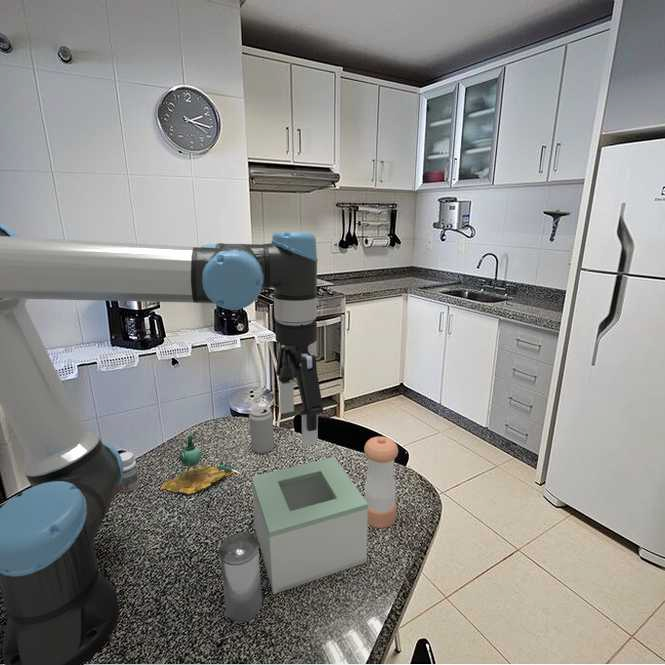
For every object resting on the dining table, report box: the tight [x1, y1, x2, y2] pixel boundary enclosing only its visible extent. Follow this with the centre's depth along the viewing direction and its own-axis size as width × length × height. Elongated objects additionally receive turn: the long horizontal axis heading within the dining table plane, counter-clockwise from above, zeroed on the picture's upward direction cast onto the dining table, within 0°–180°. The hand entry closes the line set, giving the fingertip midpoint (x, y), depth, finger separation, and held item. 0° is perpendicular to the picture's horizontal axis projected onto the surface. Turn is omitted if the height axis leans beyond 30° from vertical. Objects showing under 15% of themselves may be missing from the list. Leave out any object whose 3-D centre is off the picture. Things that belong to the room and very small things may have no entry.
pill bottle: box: [118, 451, 140, 493], centre depth 96 cm, size 5×5×8 cm
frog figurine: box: [160, 433, 236, 495], centre depth 97 cm, size 10×18×15 cm, turn 100°
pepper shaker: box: [363, 436, 399, 529], centre depth 84 cm, size 7×7×19 cm
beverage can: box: [248, 405, 275, 454], centre depth 111 cm, size 6×6×12 cm
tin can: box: [218, 531, 263, 623], centre depth 66 cm, size 6×6×12 cm
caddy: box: [251, 456, 368, 595], centre depth 77 cm, size 18×16×13 cm
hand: (297, 426), depth 77 cm, fingers open, 13 cm apart
